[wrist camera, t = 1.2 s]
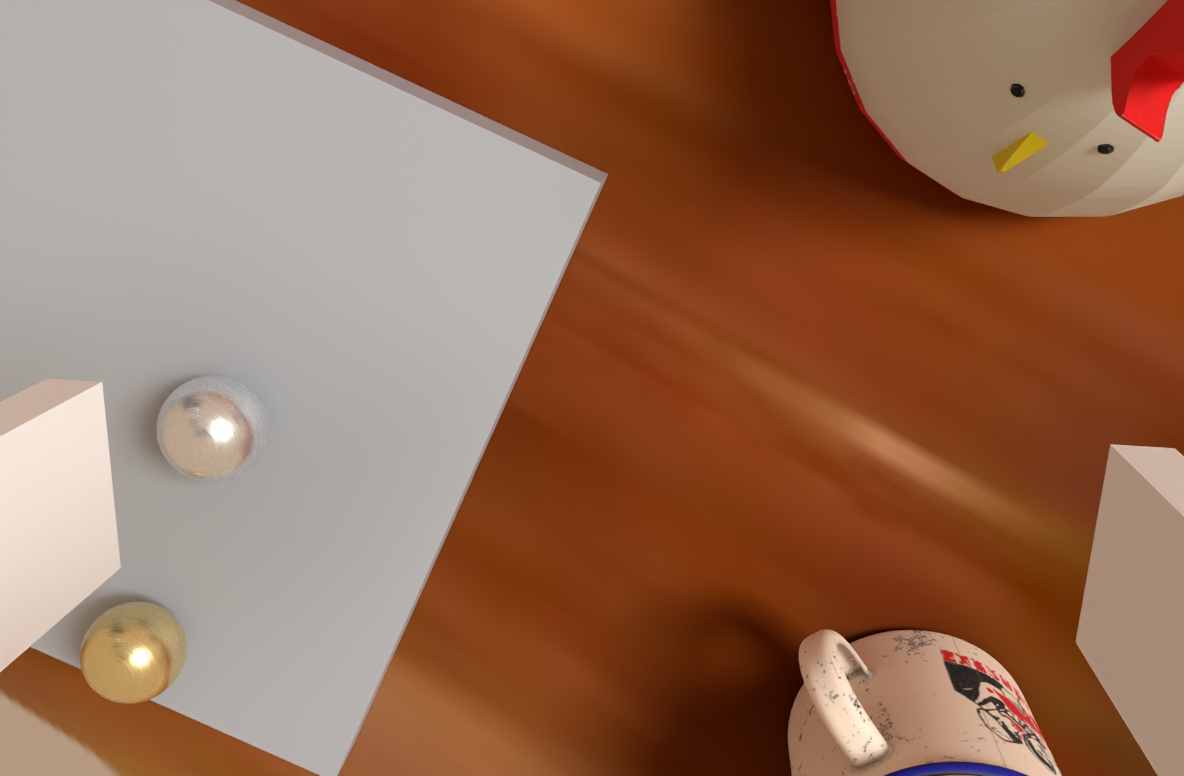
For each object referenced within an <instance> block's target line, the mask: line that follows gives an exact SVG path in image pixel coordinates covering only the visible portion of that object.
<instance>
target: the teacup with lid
mask: <svg viewBox="0 0 1184 776" xmlns="http://www.w3.org/2000/svg"><path fill="white" fill-rule="evenodd" d="M799 665H800V670H801V674H802V677H803V680H804V684H803V685H802V687H801V689H800V690H799V692H798V694H797V696H796V699H795V701H794V704H793V707H792V710H791V714H790V718H789V726H788V747H789V756H790V764H791V773H792V776H1062V775H1061V773H1060V771H1059V769H1058V766H1057V764H1056V762H1055V760H1054V758H1053V756H1052V754H1051V752H1050V750H1049V748H1048V746H1047V744H1046V742H1045V740H1044V738H1043V736H1042V733H1041V731H1040V729H1039V727H1038V725H1037V723H1036V721H1035V719H1034V717H1033V715H1032V713H1031V711H1030V709H1029V707H1028V705H1027V702H1026V700H1025V698H1024V696H1023V694H1022V692H1021V691H1020V689H1019V687H1018V685H1017V684H1016V682H1015V681H1014V680H1013V678H1012V677H1011V676H1010V674H1009V673H1008V672H1007V671H1006V670H1005V669H1004V668H1003V666H1002V665H1001V664H999V663H998V662H997V661H996V660H995V659H994V658H993V657H991V656H990V655H988V654H987V653H986V652H984V651H983V650H981V649H979V648H978V647H976V646H974V645H972V644H970V643H968V642H966V641H964V640H961V639H958V638H955V637H953V636H950V635H946V634H942V633H938V632H932V631H924V630H896V631H888V632H883V633H878V634H874V635H870V636H867V637H864V638H862V639H859V640H856V641H854V642H852V643H850V644H849V643H848V642H847V641H846V640H845V639H844V638H843V637H842V636H841V635H840V634H838V633H837V632H835V631H833V630H830V629H823V630H820V631H818V632H816V633H814V634H812V635H810V636H808V637H807V638H805V639H804V640H803V641H802V643H801V645H800V648H799Z"/></svg>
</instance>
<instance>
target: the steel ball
mask: <svg viewBox="0 0 1184 776" xmlns="http://www.w3.org/2000/svg"><path fill="white" fill-rule="evenodd" d="M268 436H269V419H268V415H267V412H266V409H265V407H264V405H263V403H262V401H261V400H260V398H259V397H258V396H257V395H256V394H255V392H254V391H252V390H251V389H250V388H249V387H248V386H246V385H245V384H243V383H241V382H239V381H237V380H235V379H232V378H229V377H224V376H203V377H198V378H195V379H192V380H190V381H188V382H186V383H184V384H182V385H181V386H179V387H178V388H177V389H175V390H174V391H173V392H172V393H171V394H170V395H169V397H168V398H167V399H166V401H165V402H164V404H163V405H162V407H161V410H160V412H159V415H158V419H157V440H158V444H159V447H160V449H161V452H162V453H163V455H164V457H165V458H166V460H167V461H168V462H169V463H170V465H171V466H172V467H173V468H175V469H176V470H177V471H178V472H180V473H181V474H183V475H185V476H187V477H189V478H191V479H194V480H198V481H202V482H222V481H227V480H231V479H233V478H236V477H238V476H240V475H242V474H243V473H245V472H246V471H248V470H249V469H250V468H251V467H253V466H254V464H255V463H256V462H257V461H258V460H259V458H260V457H261V455H262V454H263V452H264V450H265V447H266V445H267V442H268Z"/></svg>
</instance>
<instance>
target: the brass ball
mask: <svg viewBox="0 0 1184 776" xmlns="http://www.w3.org/2000/svg"><path fill="white" fill-rule="evenodd" d="M186 655H187V641H186V636H185V633H184V631H183V628H182V626H181V624H180V623H179V621H178V620H177V619H176V618H175V617H174V616H173V615H172V614H171V613H170V612H169V611H167V610H166V609H164V608H162V607H161V606H158V605H156V604H152V603H148V602H128V603H124V604H120V605H117V606H115V607H113V608H111V609H109V610H107V611H106V612H104V613H103V614H102V615H100V616H99V617H98V618H97V619H96V620H95V621H94V622H93V623H92V624H91V626H90V627H89V629H88V630H87V632H86V634H85V636H84V638H83V641H82V644H81V649H80V664H81V670H82V673H83V675H84V677H85V679H86V681H87V682H88V684H89V685H90V686H91V688H92V689H93V690H94V691H95V692H97V693H98V694H99V695H101V696H102V697H104V698H106V699H109V700H111V701H114V702H118V703H139V702H143V701H147V700H150V699H152V698H154V697H156V696H158V695H160V694H161V693H163V692H164V691H165V690H167V689H168V688H169V687H170V686H171V685H172V684H173V683H174V682H175V680H176V679H177V677H178V676H179V675H180V673H181V671H182V669H183V666H184V664H185V660H186Z"/></svg>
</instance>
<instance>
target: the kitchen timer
mask: <svg viewBox="0 0 1184 776" xmlns="http://www.w3.org/2000/svg"><path fill="white" fill-rule="evenodd" d="M830 5H831V15H832V25H833V35H834V45H835V51H836V53H837V56H838V58H839V61H840V63H841V65H842V68H843V70H844V73H845V75H846V78H847V80H848V83H849V85H850V87H851V90H852V92H853V95H854V97H855V100H856V102H857V105H858V107H859V109H860V111H861V112H862V113H863V114H864V115H865V117H866V118H867V119H868V120H869V122H870V123H871V124H872V125H873V126H874V128H875V129H876V130H877V131H878V132H879V134H880V135H881V136H882V137H883V139H884V140H885V141H886V142H887V143H888V145H889V146H890V147H891V148H892V150H893V151H894V152H895V153H896V154H897V156H898V157H899V158H901V159H902V160H904V161H905V162H907V163H908V164H910V165H911V166H913V167H914V168H916V169H917V170H919V171H921V172H922V173H924V174H925V175H927V176H928V177H930V178H931V179H933V180H934V181H936V182H937V183H939V184H941V185H942V186H944V187H945V188H947V189H948V190H950V191H951V192H953V193H955V194H956V195H958V196H960V197H961V198H964V199H968V200H971V201H975V202H978V203H982V204H985V205H989V206H992V207H996V208H999V209H1003V210H1006V211H1010V212H1013V213H1017V214H1020V215H1024V216H1029V217H1101V216H1111V215H1114V214H1118V213H1122V212H1125V211H1129V210H1132V209H1136V208H1140V207H1143V206H1147V205H1150V204H1154V203H1157V202H1161V201H1165V200H1168V199H1172V198H1175V197H1179V196H1182V195H1184V0H830Z"/></svg>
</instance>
